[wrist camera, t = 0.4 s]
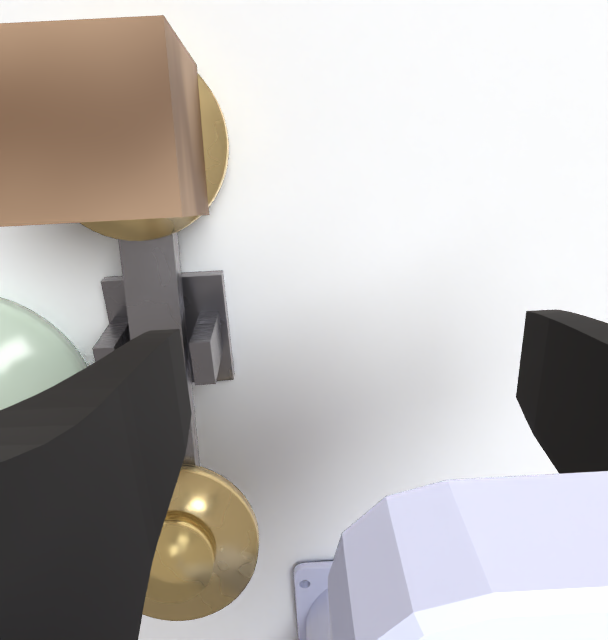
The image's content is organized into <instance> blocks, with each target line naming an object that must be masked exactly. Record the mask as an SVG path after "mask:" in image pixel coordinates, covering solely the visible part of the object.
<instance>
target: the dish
mask: <svg viewBox="0 0 608 640" xmlns="http://www.w3.org/2000/svg"><path fill="white" fill-rule="evenodd" d="M86 367H87V366H86V363H85V362H84V360H83V359H82V357H81V355H80V354H79V352H78V351H77V349H76V348H75V347H74V346H73V344H72V343H71V342H70V341H69V340H68V339H67V338H66V337H65V336H64V335H63V334H62V333H61V332H60V331H59V330H58V329H57V328H56V327H55V326H53V325H52V324H51V323H50V322H48V321H47V320H46V319H44V318H43V317H41V316H40V315H38V314H36V313H35V312H33V311H31V310H30V309H28V308H26V307H24V306H21V305H19V304H17V303H15V302H12V301H10V300H7V299H4V298H1V297H0V410H2V409H5V408H7V407H10V406H12V405H14V404H16V403H19V402H21V401H23V400H25V399H28V398H30V397H32V396H34V395H36V394H38V393H40V392H43V391H45V390H47V389H49V388H51V387H52V386H54V385H56V384H58V383H60V382H62V381H63V380H65V379H67V378H69V377H70V376H72V375H74V374H76V373H78V372H79V371H81V370H83V369H85V368H86Z"/></svg>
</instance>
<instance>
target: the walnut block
mask: <svg viewBox="0 0 608 640" xmlns="http://www.w3.org/2000/svg"><path fill="white" fill-rule="evenodd" d="M200 215H209V207H208V195H207V183H206V171H205V159H204V147H203V135H202V123H201V111H200V99H199V88H198V76H197V65H196V63H195V62H194V60H193V59H192V57H191V56H190V54H189V53H188V51H187V50H186V48H185V47H184V45H183V44H182V42H181V41H180V39H179V38H178V36H177V35H176V33H175V32H174V30H173V29H172V27H171V26H170V24H169V23H168V21H167V20H166V18H165V17H164V15H161V16H141V17H121V18H101V19H81V20H61V21H40V22H20V23H0V227H4V226H23V225H41V224H60V223H79V222H98V221H117V220H135V219H154V218H173V217H188V216H200Z"/></svg>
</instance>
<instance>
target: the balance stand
mask: <svg viewBox="0 0 608 640" xmlns="http://www.w3.org/2000/svg"><path fill="white" fill-rule="evenodd" d="M181 277H182V287H183V297H184V307H185V318H186V328H187V338H188V349H189V359H190V369H191V379H192V382H195V385H204V384H216V381H218V380H233V379H234V366H233V357H232V348H231V339H230V330H229V321H228V312H227V303H226V294H225V285H224V276H223V270H222V271H204V272H186V273H181ZM101 284H102V289H103V294H104V299H105V304H106V309H107V313H108V318H109V323H110V324H109V326H108V327H107V328H106V330H105V331H104V333H103V334H102V336H101V337H100V339H99V340H98V341H97V343H96V344H95V346H94V347H93V353H94V358H95V362H97V361H98V360H100V359H101V358H103V357H105V356H106V355H108V354H109V353H111V352H113V351H114V350H116V349H118V348H119V347H121V346H122V345H124V344H126V343H127V342H129V341H130V333H129V324H128V316H127V307H126V299H125V290H124V282H123V276H115V277H105V278H104V279H103V280H102V281H101Z"/></svg>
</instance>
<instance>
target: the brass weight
mask: <svg viewBox="0 0 608 640" xmlns="http://www.w3.org/2000/svg"><path fill="white" fill-rule="evenodd" d="M216 552H217V545H216V540H215V537H214V535H213V532H212V531H211V529H210V528H209V526H208V525H207V524H206V523H205V522H204V521H203V520H201V519H200V518H199V517H197V516H195V515H193V514H191V513H188V512H184V511H178V510H169V511H167V515H166V518H165V521H164V524H163V527H162V530H161V533H160V537H159V540H158V543H157V547H156V551H155V554H154V558H153V562H152V567H151V572H150V577H149V582H148V587H147V592H146V597H147V598H149V599H151V600H153V601H156V602H160V603H167V604H174V603H181V602H185V601H187V600H190V599H192V598H194V597H195V596H197V595H198V594H200V593H201V592H202V591H203V590H204V588H205V587H206V586H207V584H208V583H209V581H210V578H211V575H212V572H213V567H214V563H215V558H216Z"/></svg>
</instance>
